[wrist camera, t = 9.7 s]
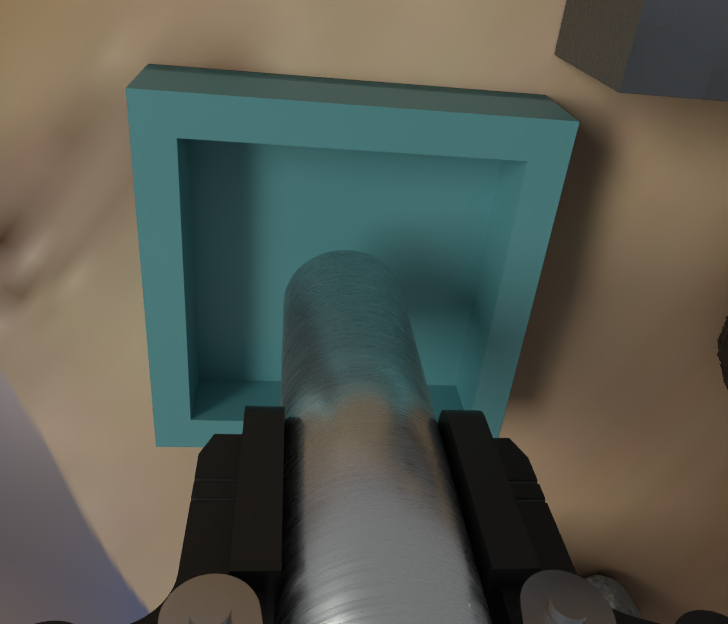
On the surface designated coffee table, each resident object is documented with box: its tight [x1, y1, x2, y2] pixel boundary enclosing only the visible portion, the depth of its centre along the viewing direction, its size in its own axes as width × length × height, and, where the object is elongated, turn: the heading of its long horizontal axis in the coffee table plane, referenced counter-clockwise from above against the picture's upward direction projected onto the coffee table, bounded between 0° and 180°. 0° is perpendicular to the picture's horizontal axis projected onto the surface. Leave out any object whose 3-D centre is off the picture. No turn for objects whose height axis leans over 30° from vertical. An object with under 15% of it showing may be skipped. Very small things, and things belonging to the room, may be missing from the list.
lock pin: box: [274, 250, 493, 624], centre depth 11 cm, size 4×4×13 cm
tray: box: [126, 64, 579, 447], centre depth 18 cm, size 10×10×2 cm
